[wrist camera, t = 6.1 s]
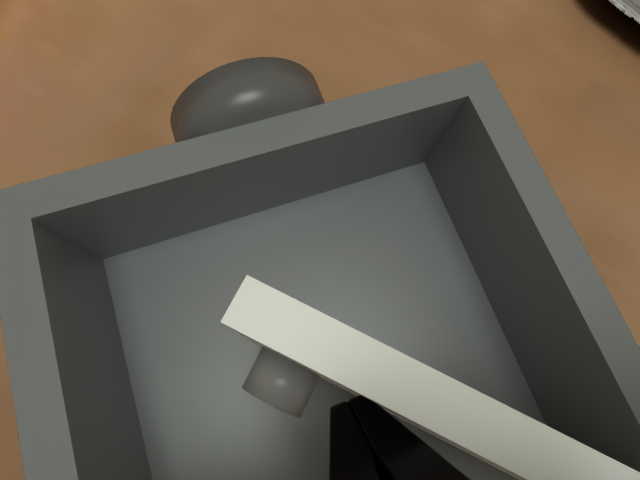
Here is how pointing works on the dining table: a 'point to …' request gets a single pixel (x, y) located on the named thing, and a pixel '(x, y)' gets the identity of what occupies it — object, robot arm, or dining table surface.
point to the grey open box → (300, 278)
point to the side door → (398, 389)
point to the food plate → (629, 8)
